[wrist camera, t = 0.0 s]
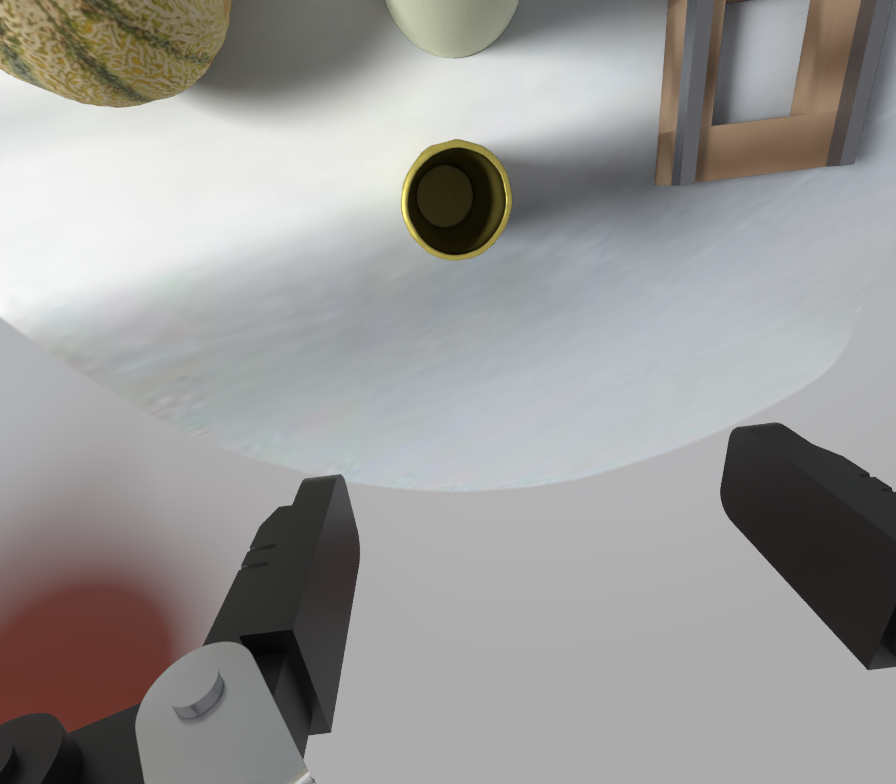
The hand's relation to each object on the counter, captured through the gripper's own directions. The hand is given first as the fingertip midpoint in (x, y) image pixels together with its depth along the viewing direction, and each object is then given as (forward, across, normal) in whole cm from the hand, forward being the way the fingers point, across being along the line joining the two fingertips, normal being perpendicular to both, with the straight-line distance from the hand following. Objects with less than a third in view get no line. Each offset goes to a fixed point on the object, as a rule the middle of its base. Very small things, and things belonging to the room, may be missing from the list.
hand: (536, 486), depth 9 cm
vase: (+30, 0, -5) cm, 30 cm away
